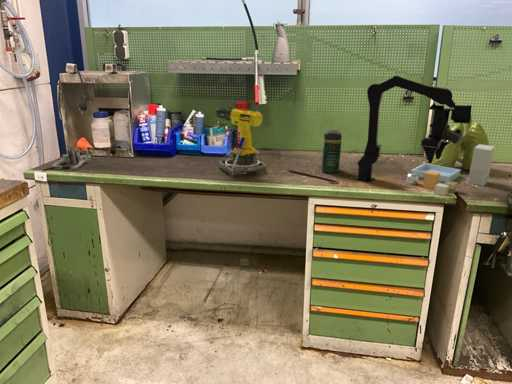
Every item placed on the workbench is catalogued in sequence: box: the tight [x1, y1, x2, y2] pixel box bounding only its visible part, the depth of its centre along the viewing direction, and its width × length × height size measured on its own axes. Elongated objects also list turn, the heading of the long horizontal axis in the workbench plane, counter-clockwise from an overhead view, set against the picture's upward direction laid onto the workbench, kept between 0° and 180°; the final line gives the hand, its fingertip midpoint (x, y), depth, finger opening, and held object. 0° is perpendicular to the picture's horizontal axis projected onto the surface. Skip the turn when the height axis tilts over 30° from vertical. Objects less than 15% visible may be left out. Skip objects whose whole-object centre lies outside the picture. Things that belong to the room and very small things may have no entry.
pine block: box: [443, 181, 459, 194], centre depth 165 cm, size 4×4×4 cm
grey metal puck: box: [406, 172, 420, 186], centre depth 174 cm, size 4×4×4 cm
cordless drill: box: [213, 106, 268, 177], centre depth 188 cm, size 18×19×28 cm
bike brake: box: [41, 147, 92, 173], centre depth 192 cm, size 14×7×20 cm
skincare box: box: [467, 144, 496, 187], centre depth 174 cm, size 8×7×16 cm
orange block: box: [422, 171, 440, 190], centre depth 169 cm, size 4×4×6 cm
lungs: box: [430, 118, 490, 171], centre depth 195 cm, size 25×16×24 cm, turn 81°
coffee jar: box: [321, 129, 343, 174], centre depth 189 cm, size 10×8×19 cm
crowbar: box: [287, 168, 339, 185], centre depth 181 cm, size 28×1×5 cm
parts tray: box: [410, 162, 462, 184], centre depth 185 cm, size 16×16×3 cm
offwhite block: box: [433, 182, 449, 197], centre depth 161 cm, size 4×4×4 cm
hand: (434, 161), depth 166 cm, fingers open, 9 cm apart
